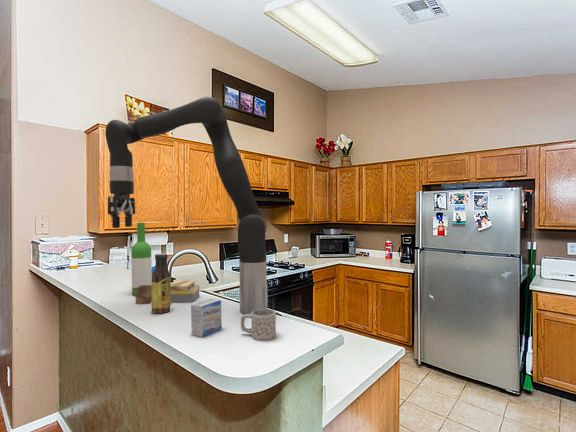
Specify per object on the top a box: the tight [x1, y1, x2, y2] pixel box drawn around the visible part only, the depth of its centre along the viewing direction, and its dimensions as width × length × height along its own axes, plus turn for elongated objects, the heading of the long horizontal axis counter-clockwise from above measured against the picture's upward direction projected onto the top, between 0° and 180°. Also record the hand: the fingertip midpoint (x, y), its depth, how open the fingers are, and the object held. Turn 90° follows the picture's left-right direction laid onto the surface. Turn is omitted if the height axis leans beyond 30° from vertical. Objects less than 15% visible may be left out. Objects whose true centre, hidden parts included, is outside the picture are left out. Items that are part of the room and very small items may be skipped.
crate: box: [134, 285, 152, 305], centre depth 130 cm, size 5×5×6 cm
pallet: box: [171, 280, 195, 291], centre depth 134 cm, size 8×10×2 cm
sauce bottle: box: [150, 253, 172, 314], centre depth 118 cm, size 7×6×20 cm
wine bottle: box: [131, 222, 153, 296], centre depth 143 cm, size 8×8×30 cm
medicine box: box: [190, 298, 223, 338], centre depth 98 cm, size 8×4×9 cm, turn 148°
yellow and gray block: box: [171, 284, 201, 303], centre depth 134 cm, size 12×9×4 cm
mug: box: [240, 308, 277, 342], centre depth 95 cm, size 10×7×7 cm
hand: (122, 227), depth 118 cm, fingers open, 8 cm apart
